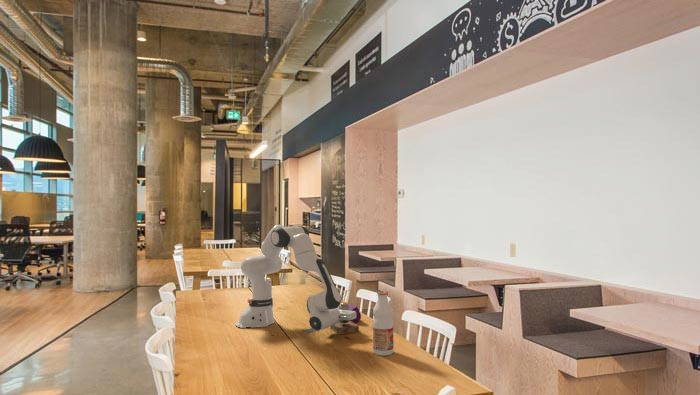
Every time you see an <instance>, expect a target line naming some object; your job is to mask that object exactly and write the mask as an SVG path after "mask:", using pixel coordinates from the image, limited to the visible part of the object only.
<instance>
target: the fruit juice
mask: <svg viewBox="0 0 700 395" xmlns="http://www.w3.org/2000/svg"><path fill="white" fill-rule="evenodd" d="M376 295H377V301H376V303H375V305H374V307H373V308H372V314H373V320H372V351H373V354H375V355H377V356H381V357H383V356H391V355H392V354H394V320H393V318H392V317H393V314H394V313H393V312H394V309H393V307H392V306H391V305H390V303H389V300H388V295H389V292H388V291H386V290H380V291H379V290H378V291H377V294H376Z"/></svg>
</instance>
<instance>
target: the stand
mask: <svg viewBox="0 0 700 395" xmlns="http://www.w3.org/2000/svg"><path fill="white" fill-rule="evenodd" d="M329 328H330V330H332V331H333V332H334V333H336V335H345V334H351V333H352V334H353V333H359V332H360V331H359V330H360V329H359V328H360V326H359V325H357V323H353V322H351V321H349V322H348V323H340V322H338V323H337V324H335V325H333V326H330V327H329Z"/></svg>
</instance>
